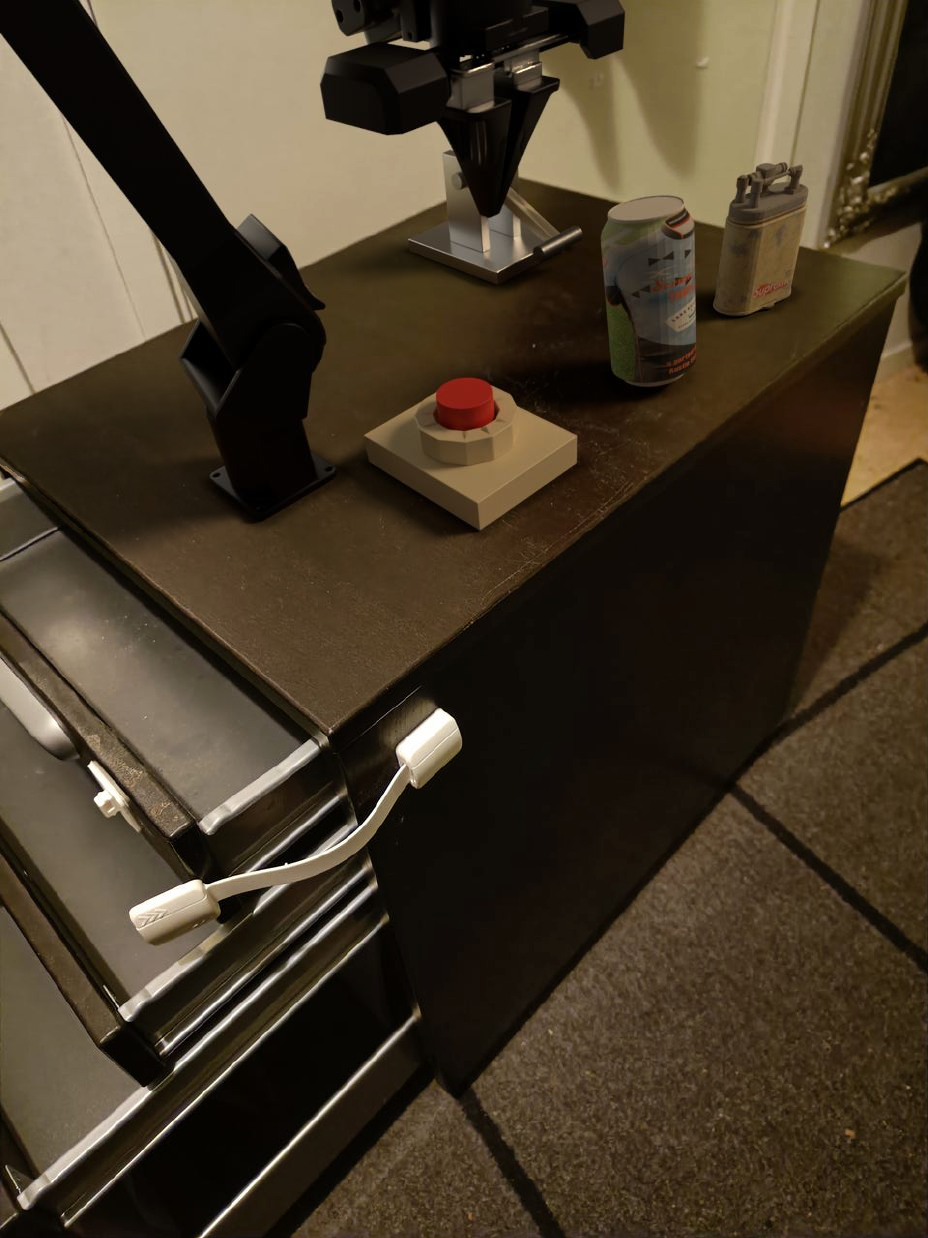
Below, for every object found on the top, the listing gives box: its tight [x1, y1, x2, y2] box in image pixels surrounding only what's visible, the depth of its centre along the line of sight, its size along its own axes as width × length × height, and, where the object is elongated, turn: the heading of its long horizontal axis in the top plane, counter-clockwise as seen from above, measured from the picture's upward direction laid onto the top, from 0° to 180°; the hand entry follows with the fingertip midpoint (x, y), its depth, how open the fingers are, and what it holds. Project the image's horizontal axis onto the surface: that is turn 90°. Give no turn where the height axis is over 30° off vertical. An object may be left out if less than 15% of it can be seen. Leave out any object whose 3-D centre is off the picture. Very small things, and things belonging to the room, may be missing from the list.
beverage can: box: [600, 194, 697, 388], centre depth 57 cm, size 6×7×12 cm
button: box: [435, 377, 494, 431], centre depth 53 cm, size 4×4×2 cm
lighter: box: [712, 161, 809, 317], centre depth 64 cm, size 7×4×10 cm, turn 122°
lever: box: [504, 187, 583, 263], centre depth 73 cm, size 12×5×2 cm, turn 43°
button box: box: [363, 385, 578, 531], centre depth 55 cm, size 11×9×4 cm
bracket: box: [407, 149, 566, 286], centre depth 76 cm, size 12×9×9 cm
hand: (489, 214), depth 52 cm, fingers closed
